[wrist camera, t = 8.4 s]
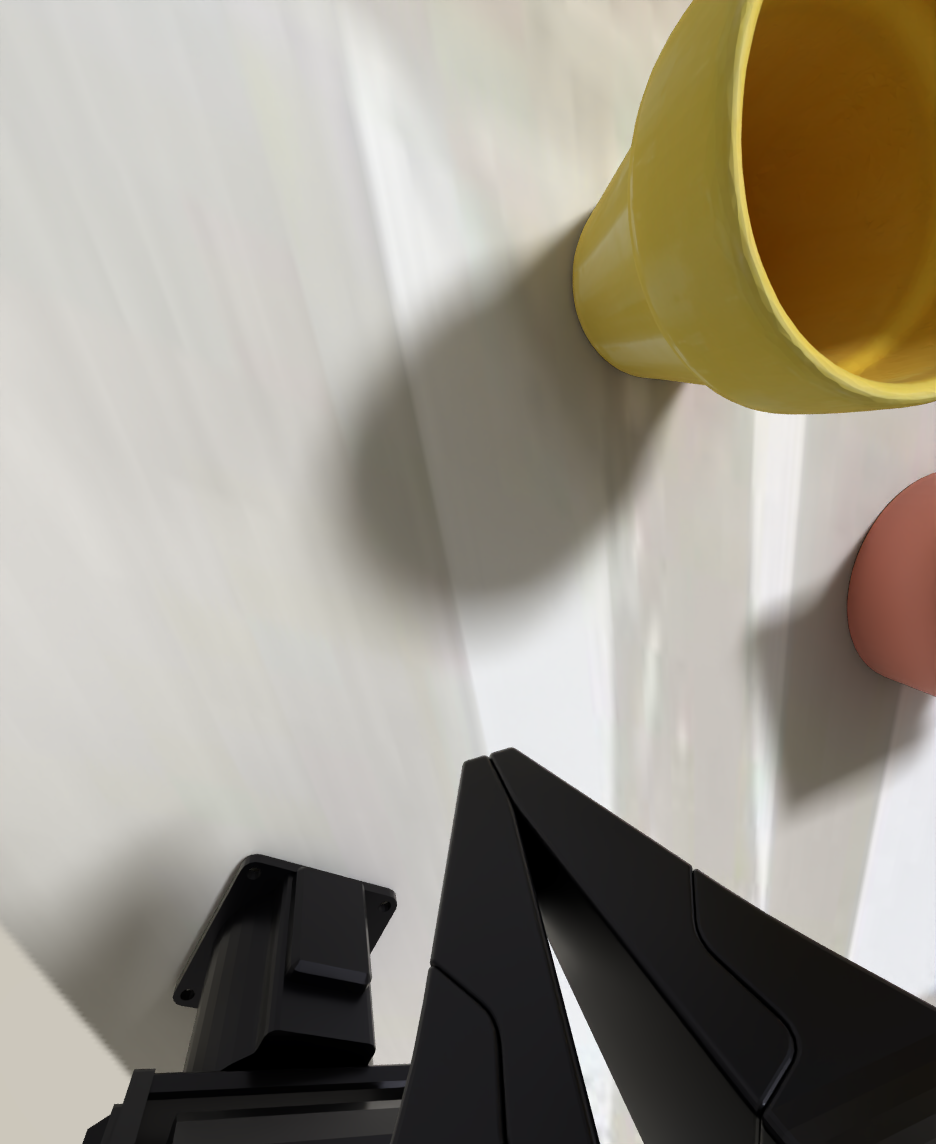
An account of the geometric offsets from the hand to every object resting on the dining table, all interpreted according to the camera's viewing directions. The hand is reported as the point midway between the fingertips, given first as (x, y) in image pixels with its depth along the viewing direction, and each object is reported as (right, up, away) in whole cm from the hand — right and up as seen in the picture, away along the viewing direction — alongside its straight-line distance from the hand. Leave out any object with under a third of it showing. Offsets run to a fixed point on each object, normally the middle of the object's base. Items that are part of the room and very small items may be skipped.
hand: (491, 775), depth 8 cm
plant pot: (+6, +14, +11) cm, 19 cm away
